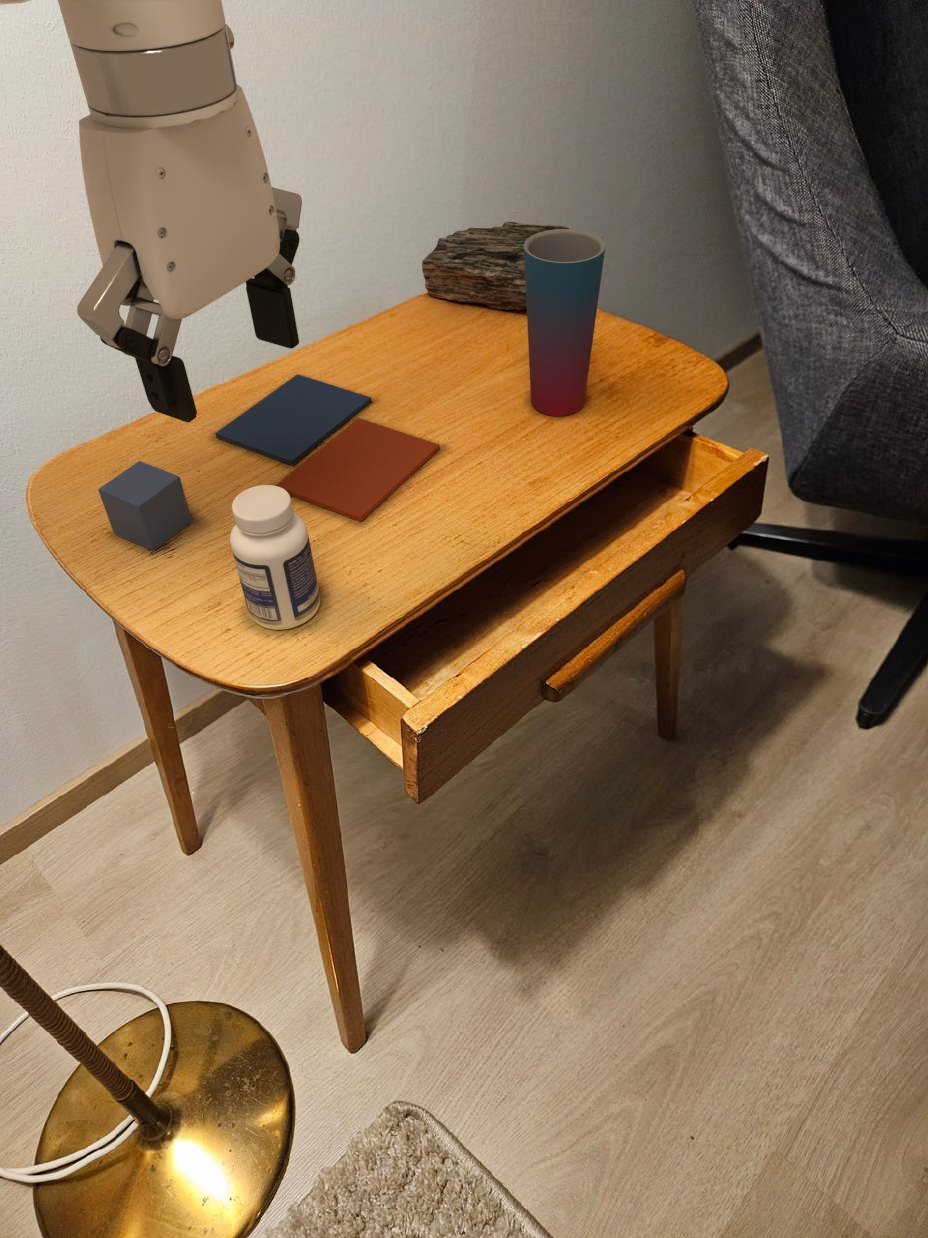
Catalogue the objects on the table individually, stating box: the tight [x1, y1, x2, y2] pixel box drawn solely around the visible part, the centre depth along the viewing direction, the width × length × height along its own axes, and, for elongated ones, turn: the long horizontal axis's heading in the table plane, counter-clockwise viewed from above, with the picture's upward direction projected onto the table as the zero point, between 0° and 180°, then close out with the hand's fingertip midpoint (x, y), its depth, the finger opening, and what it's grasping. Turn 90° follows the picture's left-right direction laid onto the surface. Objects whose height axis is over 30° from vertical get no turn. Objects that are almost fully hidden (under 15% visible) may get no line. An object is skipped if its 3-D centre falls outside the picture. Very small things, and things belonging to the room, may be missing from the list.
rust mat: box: [274, 417, 441, 523], centre depth 84 cm, size 12×9×1 cm
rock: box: [421, 221, 570, 311], centre depth 105 cm, size 12×16×6 cm
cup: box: [524, 228, 606, 417], centre depth 86 cm, size 7×7×15 cm
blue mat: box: [214, 374, 372, 466], centre depth 90 cm, size 12×9×1 cm
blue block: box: [97, 460, 193, 552], centre depth 77 cm, size 4×4×4 cm
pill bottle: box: [229, 484, 321, 631], centre depth 68 cm, size 5×5×10 cm
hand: (229, 376), depth 60 cm, fingers open, 9 cm apart
